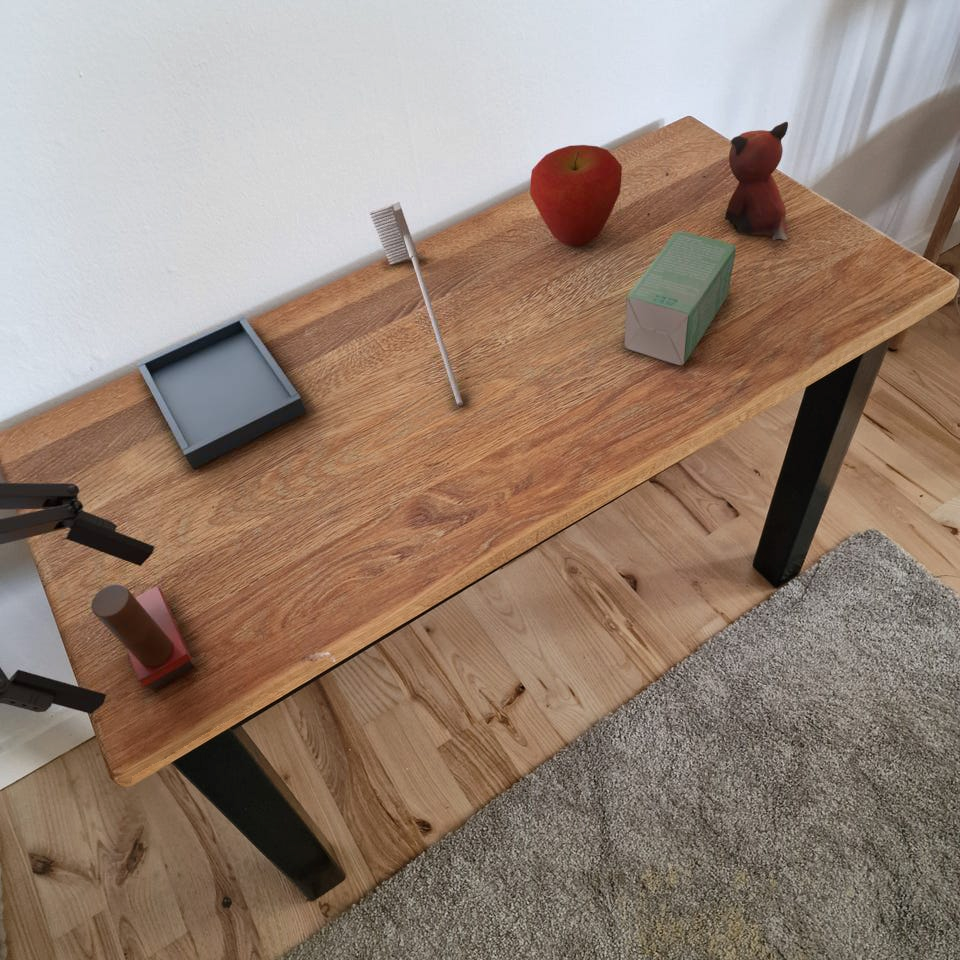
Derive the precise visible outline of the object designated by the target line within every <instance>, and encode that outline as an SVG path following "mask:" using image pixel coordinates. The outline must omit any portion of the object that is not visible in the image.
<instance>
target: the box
mask: <svg viewBox="0 0 960 960" xmlns="http://www.w3.org/2000/svg"><path fill="white" fill-rule="evenodd" d="M734 244H735V243H734ZM734 244H733V243H729V242H726V241H722V240H719V239H715V238H710V237H707V236H704V235H699V234H694V233H691V232H686V231H675V232H673V234H672V235H671V237H670V238H669V239H668V241H667V242H666V243H665V244H664V246H663V248H662V249H661V250H660V252H659V253H658V254H657V255H656V256H655V259H653V261H652V262H651V264H650V265H649V266H648V267H647V269H646V270H645V271H644V273H643V274H642V275H641V277H640V278H639V279H638V280H637V281H636V283H635V284H634V285H633V286H632V288H631V289H630V291H629V293H628V294H627V296H626V303H625V304H626V305H625V308H626V309H625V326H624V343H623V344H624V345H623V346H624V347H625V348H626V349H627V350H630V351H633V352H636V353H638V354H641V355H644V356H648V357H649V358H650V357H651V358H654V359H656V360H660V361H663V362H666V363H669V364H673V365H677V366H684V364H685V363H686V362H687V360H688V359H689V357H690V356H691V354H692V353H693V351H694V350H695V348H696V347H697V346H698V344H699V342H700V341H701V340H702V339H703V337H704V335H705V333H706V332H707V330H708V329H709V327H710V325H711V324H712V322H713V320H714V319H715V317H716V316H717V314H718V312H719V311H720V309H721V308H722V307H723V304H724V303H725V301H726V300H727V298H728V297H729V294H730V286H731V279H732V274H733V270H734V269H733V268H734V263H735V257H736V251H737V248H736V246H735V245H734Z"/></svg>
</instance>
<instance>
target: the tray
mask: <svg viewBox="0 0 960 960" xmlns="http://www.w3.org/2000/svg"><path fill="white" fill-rule="evenodd" d="M136 366H137V367H138V369H139V372H140V373H141V375H142V377H143V379H144V381H145V382H146V383H145V384H147V387H148V389H149V390H150V393H151V394H152V396H153V398H154V400H155V402H156V403H157V405H158V407H159V409H160V411H161V413H162V415H163V418H164V419H165V421H166V423H167V425H168V427H169V429H170V430H171V432H172V434H173V436H174V438H175V440H176V442H177V444H178V446H179V447H180V449H181V451H182V453H183V455H184V456H185V457H184V458H186V460H187V462H188V464H189V465H190V467H191V468H192V469H196V468H197V467H199V466H202V465H203V464H205V463H207V462H209V461H211V460H213V459H215V458H217V457H219V456H222V455H223V454H225V453H227V452H229V451H231V450H233V449H235V448H237V447H240V446H241V445H244V444H246V443H248V442H250V441H252V440H253V439H255V438H258V437H260V436H262V435H263V434H265V433H267V432H269V431H272V430H273V429H275V428H278V427H280V426H282V425H284V424H285V423H287V422H290V421H291V420H293V419H295V418H298V417H299V416H302V415H304V414H306V413H307V409H306V405H305V404H304V402H303V401H304V400H303V398H302V397H301V395H300V394H299V392H298V391H297V390H296V388H295V387H294V385H293V384H292V383H291V381H290V380H289V378H288V376H287V375H286V374H285V373H284V371H283V370H282V368H281V367H280V365H279V364H278V362H277V361H276V359H275V358H274V357H273V355H272V354H271V352H270V351H269V350H268V348H267V347H266V345H265V344H264V343H263V341H262V340H261V338H260V337H259V335H258V334H257V333H256V331H255V330H254V328H253V327H252V325H251V324H250V322H249V321H248V319H247V318H246V317H245V316H244V314H242V315H239V316H237V317H235V318H232V319H230V320H228V321H226V322H224V323H222V324H219V325H217V326H216V327H213V328H211V329H209V330H207V331H206V330H205V331H204V332H201V333H200V334H197V335H195V336H193V337H190V338H189V339H187V340H184V341H182V342H180V343H178V344H175V345H174V346H173V345H172V346H170V347H169V348H166V349H164V350H162V351H159V352H157V353H155V354H154V355H151V356H149V357H147V358H145V359H142V360H140V361H137V362H136Z"/></svg>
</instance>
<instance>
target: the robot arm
mask: <svg viewBox="0 0 960 960" xmlns="http://www.w3.org/2000/svg"><path fill="white" fill-rule="evenodd" d="M79 493H80V488H79V486H78V485H76V484H74V483H67V482H66V483H63V482H61V483H59V482H55V483H54V482H0V510H35V511H31V512H26V513H21V514H17V515H12V516H7V517H3V518H0V546H1V545H4V544H9V543H12V542H16V541H21V540H26V539H29V538H33V537H37V536H42V535H46V534H49V533H54V532H57V531H61V530H66V529H69V530H68V532H67V535H66V536H65V540H67V541H71V542H73V543H76V544H78V545H82V546H85V547H87V548H90V549H92V550H95V551H98V552H100V553H104V554H106V555H109V556H111V557H113V558H114V557H115V558H118V559H120V560H123V561H125V562H128V563H131V564H134V565H136V566H139V567H141V566H142V565H144V563H145V562H146V561H147V560H148V559H149V558H150V557H151V556H152V555H153V553H154V549H155V545H152V544H150V543H147V542H144V541H141V540H139V539H136V538H134V537H132V536H130V535H129V536H128V535H126V534H124V533H120V532H118V531H116V529H117V525H116V524H115V523H114V522H113V521H111V520H108V519H106V518H103V517H100V516H98V515H95V514H93V513H90V512H87V511H85V510H83V509H84V504H83V503H82V502H81V501H80V500H79V499H78V498H79V497H78V494H79ZM106 697H107V694H106V693H103V692H99V691H96V690H91V689H88V688H85V687H81V686H78V685H75V684H71V683H67V682H63V681H60V680H56V679H53V678H50V677H46V676H42V675H39V674H35V673H32V672H28V671H25V670H21V669H17V670H16V671H15V672H14V673H13V674H12V675H11V677H10V678H8V676H7V675H6V673H5V672H4V670H3V669H2V667H1V666H0V704H3V705H7V706H12V707H16V708H19V709H23V710H27V711H31V712H33V713H34V712H35V713H44V712H45V713H46V712H47V711H48V710H49V709H50V708H51V707H52V704H53V705H57V706H61V707H64V708H68V709H71V710H76V711H80V712H82V713H86V714H89V715H93V713H95V712H96V711H97V710H98V709H99V708H101V706H103V705H104V704H105V700H106Z"/></svg>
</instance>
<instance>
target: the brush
mask: <svg viewBox="0 0 960 960" xmlns="http://www.w3.org/2000/svg"><path fill="white" fill-rule="evenodd" d="M369 215H370V218H371V221H372V222H373V225H374V228H375V230H376V233H377V234H378V238H379V240H380V244H381V245H382V248H383V251H384V253H385V255H386V257H387V260H388V263H389V266H392V265H395V264H399V263H402V262H404V261H407V260H410V261H411V262H412V265H413V268H414V270H415V274H416V277H417V280H418V283H419V287H420V290H421V294H422V296H423V301H424V303H425V305H426V306H425V307H426V309H427V313H428V315H429V320H430V322H431V325H432V328H433V331H434V334H435V339H436V342H437V345H438V348H439V351H440V354H441V357H442V360H443V363H444V366H445V370H446V373H447V376H448V379H449V383H450V386H451V389H452V392H453V395H454V398H455V402H456V405H457V406H458V407H461V406H463V405H464V402H463V400H462V396H461V393H460V390H459V387H458V384H457V380H456V377H455V374H454V371H453V367H452V365H451V361H450V359H449V355H448V352H447V349H446V346H445V343H444V340H443V337H442V333H441V330H440V327H439V324H438V321H437V317H436V315H435V311H434V308H433V306H432V302H431V299H430V295H429V292H428V289H427V287H426V283H425V280H424V276H423V273H422V270H421V267H420V264H419V263H420V258H419V255H418V253H417V252H418V251H417V249H416V246H415V244H414V240H413V237H412V235H411V232H410V229H409V226H408V224H407V220H406V218H405V217H406V216H405V214H404V211H403V209H402V206H401V202H400V201H398V202H395V203H390V204H389V205H387V206H384V207H381V208H378V209H375V210H373V211H370V212H369Z"/></svg>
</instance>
